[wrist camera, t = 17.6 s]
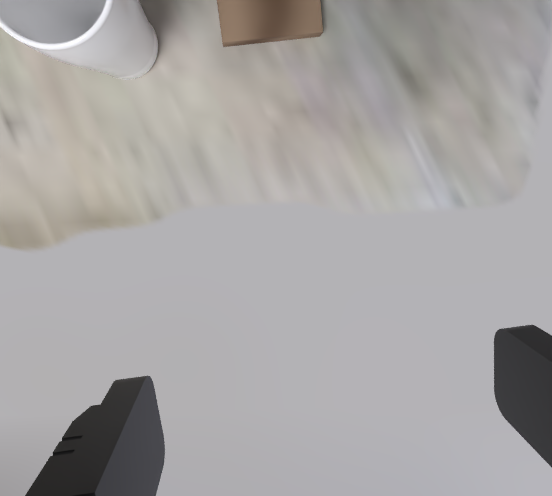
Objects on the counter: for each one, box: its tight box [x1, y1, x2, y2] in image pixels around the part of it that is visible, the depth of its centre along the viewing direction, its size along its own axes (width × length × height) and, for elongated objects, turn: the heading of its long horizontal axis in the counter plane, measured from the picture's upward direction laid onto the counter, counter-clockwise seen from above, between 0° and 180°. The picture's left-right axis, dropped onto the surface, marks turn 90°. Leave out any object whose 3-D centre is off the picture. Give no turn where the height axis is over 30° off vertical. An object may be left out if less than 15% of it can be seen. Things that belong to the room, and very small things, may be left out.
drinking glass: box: [0, 0, 158, 80], centre depth 29 cm, size 7×7×15 cm
